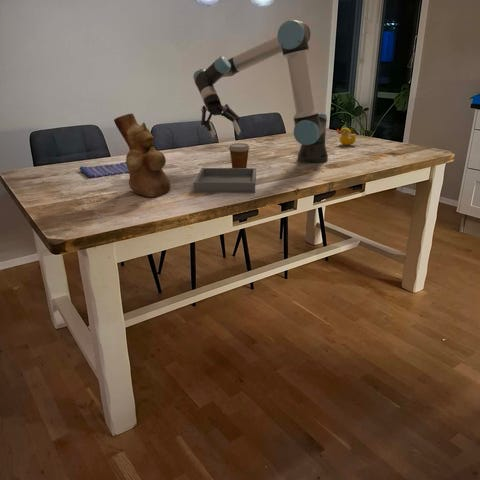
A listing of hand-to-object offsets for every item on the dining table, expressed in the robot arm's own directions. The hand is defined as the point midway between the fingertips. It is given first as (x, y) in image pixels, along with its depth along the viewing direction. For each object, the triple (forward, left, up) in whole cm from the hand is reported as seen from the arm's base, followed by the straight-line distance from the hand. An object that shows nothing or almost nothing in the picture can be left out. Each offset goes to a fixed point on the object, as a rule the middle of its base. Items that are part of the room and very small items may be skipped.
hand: (226, 134), depth 215 cm
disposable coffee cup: (-6, +9, -15) cm, 19 cm away
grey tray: (-2, +32, -15) cm, 35 cm away
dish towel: (+55, +11, -16) cm, 58 cm away
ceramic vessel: (+30, +43, -15) cm, 54 cm away
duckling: (-65, -54, -15) cm, 86 cm away
